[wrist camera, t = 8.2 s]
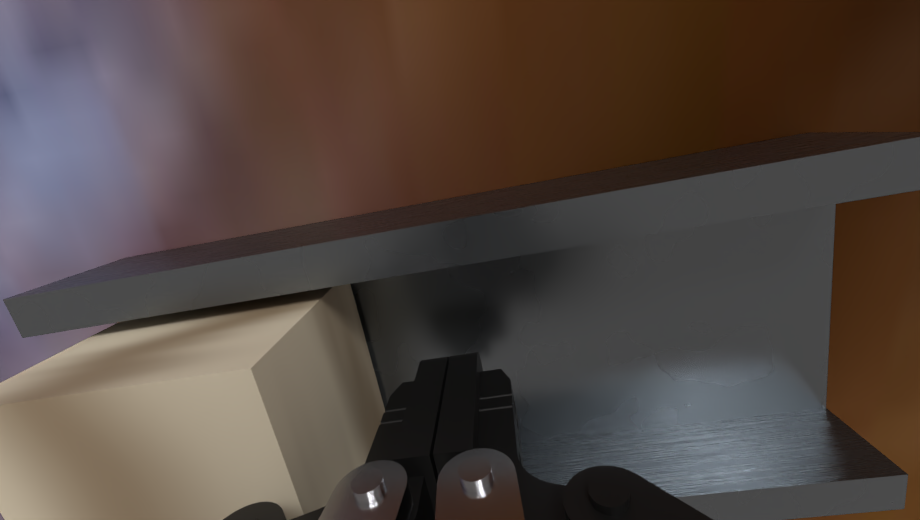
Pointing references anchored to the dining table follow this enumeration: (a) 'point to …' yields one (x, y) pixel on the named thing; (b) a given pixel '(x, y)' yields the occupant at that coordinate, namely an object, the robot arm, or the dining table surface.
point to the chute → (593, 312)
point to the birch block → (194, 414)
